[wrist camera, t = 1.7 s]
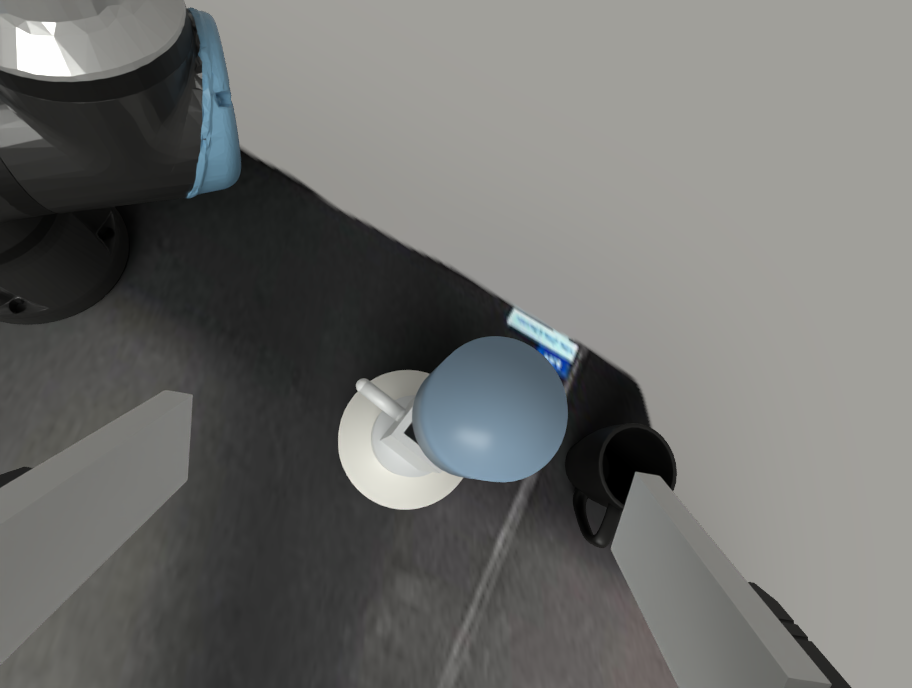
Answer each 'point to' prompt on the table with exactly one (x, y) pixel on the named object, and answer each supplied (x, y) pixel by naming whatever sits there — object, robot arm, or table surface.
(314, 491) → the table surface
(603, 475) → the mug
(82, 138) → the robot arm
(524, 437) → the plunger
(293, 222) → the table surface
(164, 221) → the table surface
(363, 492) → the bottle
